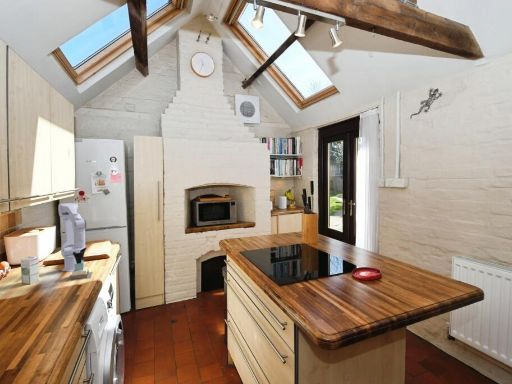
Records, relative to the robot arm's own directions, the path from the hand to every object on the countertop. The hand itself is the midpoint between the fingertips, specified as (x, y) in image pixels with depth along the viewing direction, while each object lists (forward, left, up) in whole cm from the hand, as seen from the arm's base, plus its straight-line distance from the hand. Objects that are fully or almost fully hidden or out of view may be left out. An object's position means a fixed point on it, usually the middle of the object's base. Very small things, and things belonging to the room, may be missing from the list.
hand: (79, 261), depth 158 cm
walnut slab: (0, 0, -9) cm, 9 cm away
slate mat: (0, 0, -10) cm, 10 cm away
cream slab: (0, 0, -7) cm, 7 cm away
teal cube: (0, 0, -5) cm, 5 cm away
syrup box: (+14, -20, -10) cm, 26 cm away
